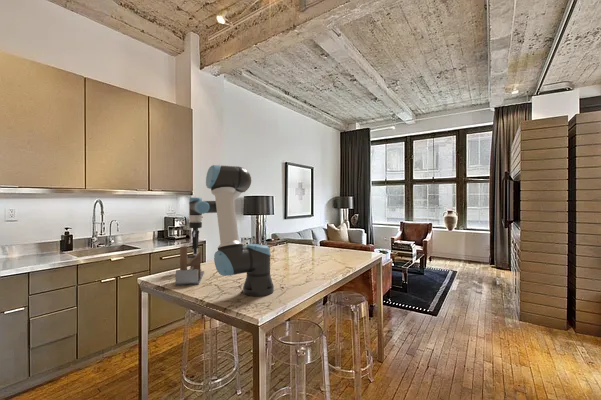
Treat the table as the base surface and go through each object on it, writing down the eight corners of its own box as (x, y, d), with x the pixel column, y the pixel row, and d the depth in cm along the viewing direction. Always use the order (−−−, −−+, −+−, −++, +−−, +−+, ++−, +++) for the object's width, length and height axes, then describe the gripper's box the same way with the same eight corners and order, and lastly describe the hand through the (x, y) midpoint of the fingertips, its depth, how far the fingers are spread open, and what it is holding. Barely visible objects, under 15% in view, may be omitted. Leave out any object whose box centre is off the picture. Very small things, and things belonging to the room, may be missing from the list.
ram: (197, 273, 167) (197, 256, 166) (186, 274, 165) (186, 256, 165) (198, 271, 171) (198, 254, 171) (188, 272, 170) (188, 255, 170)
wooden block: (200, 278, 158) (200, 246, 158) (179, 280, 154) (179, 247, 154) (200, 276, 161) (200, 245, 161) (179, 278, 157) (179, 246, 157)
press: (198, 284, 150) (198, 269, 150) (174, 286, 148) (174, 270, 148) (204, 273, 173) (204, 260, 173) (183, 274, 171) (183, 261, 170)
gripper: (200, 222, 173) (200, 260, 173) (203, 220, 186) (202, 256, 186) (187, 222, 171) (187, 261, 172) (191, 220, 184) (190, 256, 184)
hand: (195, 258), depth 179 cm, fingers closed
